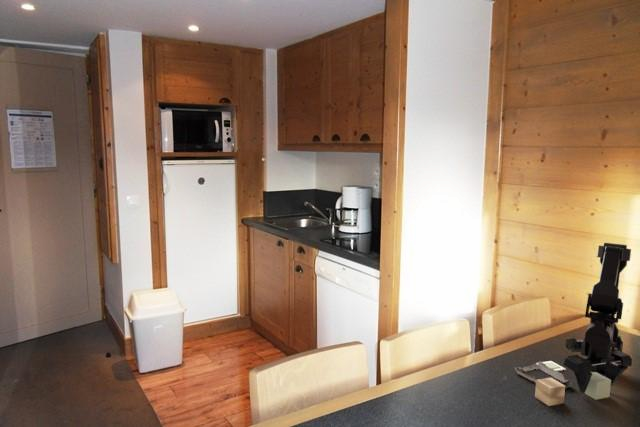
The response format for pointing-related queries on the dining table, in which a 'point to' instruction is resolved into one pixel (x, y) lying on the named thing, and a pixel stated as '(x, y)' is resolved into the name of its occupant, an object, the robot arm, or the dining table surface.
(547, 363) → the card
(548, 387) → the honey block
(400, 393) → the dining table surface
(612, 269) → the robot arm
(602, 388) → the sage block
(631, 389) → the dining table surface
